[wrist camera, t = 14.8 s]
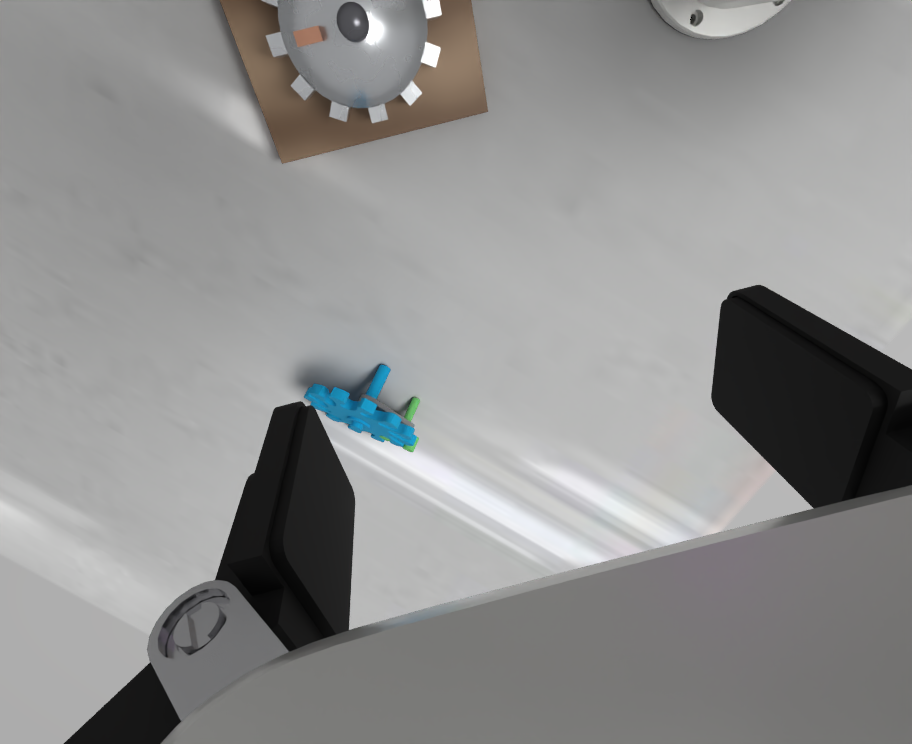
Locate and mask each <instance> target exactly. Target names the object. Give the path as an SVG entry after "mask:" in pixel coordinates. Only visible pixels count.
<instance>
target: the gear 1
mask: <svg viewBox="0 0 912 744" xmlns="http://www.w3.org/2000/svg"><path fill="white" fill-rule="evenodd" d="M261 1H263V2H265V3H266V4H268V5H270V6H272V7H275V8H278V20H279V26H280V32H278V33H274V34H270V35H266V38H267V41H268V44H269V47H270V50H271V52H272V55H273V57H276V58H283V57H287V56H289V57H290V59H291V61H292V63H293V64H294V66H295V67H296V69H297V70H298V72H299V73H300V75H299V76H298V77H297V78H296V80H295V81H294V82H293V83H292V85H291V87H292V88H293V89H294V90H295V91H296V92H297V93H298V94H299V95H300V96H301V97H302V98H303V99H304V100H307V99H309V98H311V96H312V95H313V94H314V93H315V92H316V91H317V92H318V93H320V94H321V95H322V96H324V97H326V98H327V99H329V100H331V101H332V103H331V109H330V115H329V117H332V118H335V119H338V120H341V121H344V122H347V120H348V118H349V112H350V107H353V108H368V110H369V114H370V118H371V121H372V123H375V122H379V121H383V120H387V119H388V116H387V112H386V108H385V103H387V102H389V101H391V100H393V99H394V98H396V97H397V96H398V95H401V96H402V97H403V98H404V99H405V101H406V102H407V103H408V104H409V105H410V106H411V105H412V104H413V102H414V101H415V100H416V99H417V98H418V97H419V96H420V95H421V94H422V92H421V91H420V90H419V88H418V87H417V86H416V85H415V84H414V82H413V79H414V77H415V76H416V74H417V72H418V70H419V68H420V65H421V64H424V65H426V66H429V67H431V68H436V64H437V60H438V57H439V53H440V49H441V48H440V47H437V46H435V45H432V44H430V43H427V32H428V28H427V21H430V20H434V19H437V18H438V17H440V16H441V15H442V13H441V8H440V2H439V0H261Z"/></svg>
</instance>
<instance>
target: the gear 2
mask: <svg viewBox="0 0 912 744" xmlns="http://www.w3.org/2000/svg"><path fill="white" fill-rule="evenodd" d="M389 372H390V368H389V367H387V366H385V365H380V366H379V368H378V370H377V372H376V374H375V376H374V378H373V380H372V382H371V384H370V387H369V389H368V391H367V393H366V394H362V395H361V397H360V399H359V401H352V400H350V399H348V397H349V395H350V394H349V393H348V392H346V391H344V390H342V389H339V388H336V387H334V388H333V390H332V392H331V393H329V389H328V388H326V387H325V386H323V385H319V384H313V386H312V387H310V388H308V390H307V392H306V394H305V396H304V398H306V399H308V400H310V401H312V402H311V405H312V406H313V407H314V408H315V409H318V410H321V411H324V412H327V414H326V416H327V417H329V418H330V419H332V420H334V421H337V422H344V423H347V424H349V426H348V428H350V429H352V430H354V431H356V432H358V433H361V431H366V432H370V433H372V435H371V437H372V438H374V439H376V440H378V441H381V442H384V440H386V441H390V442H391V443H392V444H394V445H397V446H401V447H403V449H405V450H407V451H410V452H413V451H414V449H415V447H416V444H417V442H418V440H419V438H418V437H417V436H415V435H413V433H414V431H415V430H414V424H413V423H411V420H412V418H413V415H414V413H415V411H416V409H417V406H418V404H419V402H420V400H419V399H417V398H412V401H411V403H410V405H409V407H408V409H407V412H406V414H405V416H404V417H402V416H401V415H399V414H398V413H396V412H395V411H393V410H392V409H390V408H389V407H387V406H386V405H384V404H383V403H381V402H380V401H378V400H377V397H378V395H379V393H380V391H381V389H382V387H383V385H384V383H385V381H386V379H387V377H388V374H389Z"/></svg>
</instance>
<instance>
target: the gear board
mask: <svg viewBox="0 0 912 744" xmlns="http://www.w3.org/2000/svg"><path fill="white" fill-rule="evenodd" d="M220 2H221V5H222V8H223V10H224V13H225V15H226V18H227V21H228V23H229V26H230V28H231V31H232V34H233V36H234V39H235V41H236V44H237V47H238V49H239V52H240V55H241V57H242V60H243V62H244V65H245V68H246V70H247V73H248V75H249V78H250V81H251V83H252V86H253V89H254V91H255V94H256V96H257V99H258V102H259V104H260V107H261V109H262V112H263V115H264V117H265V120H266V122H267V125H268V128H269V130H270V133H271V136H272V138H273V141H274V143H275V146H276V149H277V151H278V154H279V156H280V159H281V162H282V164H283V163H287V162H291V161H295V160H299V159H303V158H307V157H311V156H315V155H319V154H322V153H326V152H330V151H334V150H338V149H342V148H346V147H350V146H354V145H358V144H362V143H366V142H370V141H374V140H378V139H382V138H386V137H390V136H394V135H398V134H402V133H406V132H409V131H413V130H417V129H421V128H425V127H429V126H433V125H437V124H441V123H445V122H449V121H453V120H457V119H461V118H465V117H469V116H473V115H477V114H481V113H485V112H488V108H487V102H486V95H485V88H484V82H483V75H482V69H481V62H480V56H479V49H478V43H477V36H476V29H475V23H474V16H473V10H472V3H471V0H439V2H440V8H441V13H442V15H441V16H440V17H438V18H437V19H434V20H430V21H427V28H428V32H427V43H430V44H432V45H435V46H437V47H440V48H441V49H440V53H439V57H438V60H437V64H436V68H431V67H429V66H426V65H424V64H421V65H420V68H419V70H418V72H417V74H416V76H415V77H414V79H413V82H414V84H415V85H416V86H417V87H418V88H419V90H420V91H421V92H422V94H421V95H420V96H419V97H418V98H417V99H416V100H415V101H414V102H413V104H412V105H411V106H410V105H409V104H408V103H407V102H406V101H405V99H404V98H403V97H402V96H401V95H398V96H397V97H396V98H394V99H393V100H391V101H389V102H387V103H385V108H386V112H387V116H388V119H387V120H383V121H379V122H375V123H372V121H371V118H370V114H369V110H368V108H353V107H350V112H349V118H348V120H347V122H344V121H341V120H338V119H335V118H332V117H329V115H330V109H331V103H332V101H331V100H329V99H327V98H326V97H324V96H322V95H321V94H320V93H318V92H317V91H316V92H315V93H314V94H313V95H312V96H311V98H309V99H307V100H304V99H303V98H302V97H301V96H300V95H299V94H298V93H297V92H296V91H295V90H294V89H293V88H292V87H291V85H292V83H293V82H294V81H295V80H296V78H297V77H298V76H299V75H300V73H299V72H298V70H297V69H296V67H295V66H294V64H293V63H292V61H291V59H290V57H289V56H287V57H283V58H276V57H273V55H272V52H271V50H270V47H269V44H268V41H267V38H266V35H270V34H274V33H278V32H280V26H279V20H278V8H275V7H272V6H270V5H268V4H266V3H265V2H263V1H261V0H220Z"/></svg>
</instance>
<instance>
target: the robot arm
mask: <svg viewBox="0 0 912 744" xmlns="http://www.w3.org/2000/svg"><path fill="white" fill-rule="evenodd" d="M790 1H791V0H651V2H652V4H653V6H654V8H655V9H656V10H657V12H658V13H659V14H660V15H661V17H662V18H663V19H664V20H665V22H667V23H668V24H669V25H671V26H672V27H673V28H675V29H676V30H677V31H679V32H681V33H684V34H686V35H689V36H691V37H694V38H702V39H719V38H728V37H732V36H736V35H740V34H744V33H746V32H748V31H750V30H752V29H754V28H756V27H758V26H760V25H762V24H763V23H765V22H766V21H768V20H769V19H770V18H772V17H773V16H775V15H776V14H778V13H779V12H780V11H781V10H782V9H783V8H784V7H785V6H786V5H787V4H788V3H789V2H790ZM691 16H692V21H691V23H690V17H691ZM711 398H712V402H713V405H714V407H715V409H716V410H717V411H718V412H719V413H720V414H721V415H722V416H723V417H724V418H725V419H726V420H727V421H728V422H729V423H730V424H731V425H732V426H733V427H734V428H735V429H736V430H737V431H738V433H739V434H740V435H741V436H742V437H743V438H744V439H745V440H746V441H747V442H748V443H749V444H750V445H751V446H752V447H753V448H754V449H755V450H756V451H757V452H758V453H759V454H760V455H761V456H762V457H763V458H764V459H765V460H766V461H767V462H768V463H769V464H770V465H771V466H772V467H773V468H774V469H775V470H776V471H777V472H778V473H779V474H780V475H781V476H782V477H783V478H784V479H785V480H786V481H787V482H788V483H789V484H790V485H791V486H792V487H793V488H794V489H795V490H796V491H797V492H798V493H799V494H800V495H801V496H802V497H803V498H804V499H805V500H806V501H807V502H808V503H809V504H810V505H811V506H812V507H813V508H814V509H811V510H807V511H803V512H799V513H795V514H791V515H787V516H783V517H779V518H775V519H771V520H767V521H763V522H759V523H755V524H751V525H747V526H743V527H739V528H735V529H731V530H727V531H723V532H719V533H715V534H711V535H707V536H703V537H699V538H695V539H691V540H687V541H683V542H680V543H676V544H672V545H668V546H664V547H660V548H656V549H652V550H648V551H644V552H640V553H637V554H633V555H629V556H625V557H621V558H617V559H613V560H609V561H605V562H601V563H598V564H594V565H590V566H586V567H582V568H578V569H574V570H570V571H566V572H563V573H559V574H555V575H551V576H547V577H544V578H540V579H536V580H532V581H528V582H524V583H521V584H517V585H513V586H509V587H505V588H502V589H498V590H494V591H490V592H486V593H482V594H479V595H475V596H471V597H467V598H463V599H460V600H456V601H452V602H448V603H444V604H440V605H437V606H433V607H430V608H426V609H422V610H419V611H415V612H412V613H408V614H405V615H401V616H397V617H394V618H390V619H387V620H383V621H380V622H376V623H372V624H369V625H365V626H362V627H358V628H355V629H352V630H349V615H350V595H351V575H352V555H353V536H354V516H355V496H354V492H353V489H352V486H351V484H350V482H349V480H348V478H347V476H346V473H345V471H344V469H343V467H342V465H341V463H340V461H339V459H338V457H337V454H336V452H335V450H334V448H333V446H332V444H331V442H330V440H329V437H328V435H327V433H326V431H325V429H324V427H323V425H322V423H321V421H320V418H319V416H318V414H317V412H316V410H315V408H314V407H313V406H312V405H310V406H305V404H304V403H303V402H301V401H299V402H295V403H292V404H288V405H284V406H280V407H276V408H275V409H274V411H273V414H272V417H271V420H270V424H269V427H268V430H267V434H266V437H265V440H264V444H263V447H262V450H261V453H260V457H259V460H258V463H257V467H256V470H255V473H253V474H251V475H250V476H249V477H248V479H247V481H246V484H245V487H244V490H243V493H242V497H241V500H240V503H239V506H238V509H237V512H236V516H235V519H234V522H233V525H232V528H231V531H230V534H229V538H228V541H227V544H226V547H225V550H224V553H223V557H222V560H221V563H220V566H219V569H218V572H217V575H216V579H215V580H214V581H209V582H204V583H202V584H200V585H197V586H195V587H193V588H191V589H189V590H188V591H187V592H185V593H184V594H182V595H181V596H179V597H178V598H177V599H176V600H175V601H174V602H173V603H172V604H171V605H170V606H168V607H167V608H166V610H165V611H164V612H163V614H162V615H161V616H160V618H159V619H158V620H157V622H156V624H155V626H154V628H153V630H152V632H151V634H150V636H149V642H148V648H147V651H148V656H149V660H150V663H149V664H148V665H147V666H146V667H145V668H144V669H143V670H142V671H141V672H140V673H138V675H136V676H135V677H134V678H133V679H132V680H131V681H130V682H129V683H128V684H127V685H126V686H125V687H124V688H122V689H121V690H120V691H119V692H118V693H117V694H116V695H115V696H114V697H113V698H112V699H111V700H110V701H109V702H108V703H106V704H105V705H104V707H102V708H101V709H100V710H99V711H98V712H97V713H96V714H95V715H94V716H93V717H92V718H91V719H89V720H88V721H87V722H86V723H85V724H84V725H83V726H82V727H81V728H80V729H79V730H78V731H77V732H76V733H75V734H74V735H72V736H71V737H70V738H69V739H68V740H67V741H66V742H65V743H64V744H912V369H910V368H908V367H906V366H904V365H903V364H901V363H899V362H897V361H896V360H894V359H892V358H890V357H889V356H887V355H885V354H883V353H881V352H880V351H878V350H876V349H874V348H873V347H871V346H869V345H867V344H866V343H864V342H862V341H860V340H858V339H857V338H855V337H853V336H851V335H850V334H848V333H846V332H844V331H842V330H841V329H839V328H837V327H835V326H834V325H832V324H830V323H828V322H826V321H825V320H823V319H821V318H819V317H818V316H816V315H814V314H812V313H810V312H809V311H807V310H805V309H803V308H802V307H800V306H798V305H796V304H795V303H793V302H791V301H789V300H787V299H786V298H784V297H782V296H780V295H779V294H777V293H775V292H773V291H771V290H770V289H768V288H766V287H764V286H762V285H755V286H751V287H747V288H744V289H740V290H736V291H732V292H731V293H730V294H729V295H728V297H727V299H726V300H724V301H723V302H722V304H721V309H720V319H719V328H718V338H717V347H716V356H715V366H714V375H713V385H712V394H711Z"/></svg>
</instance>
